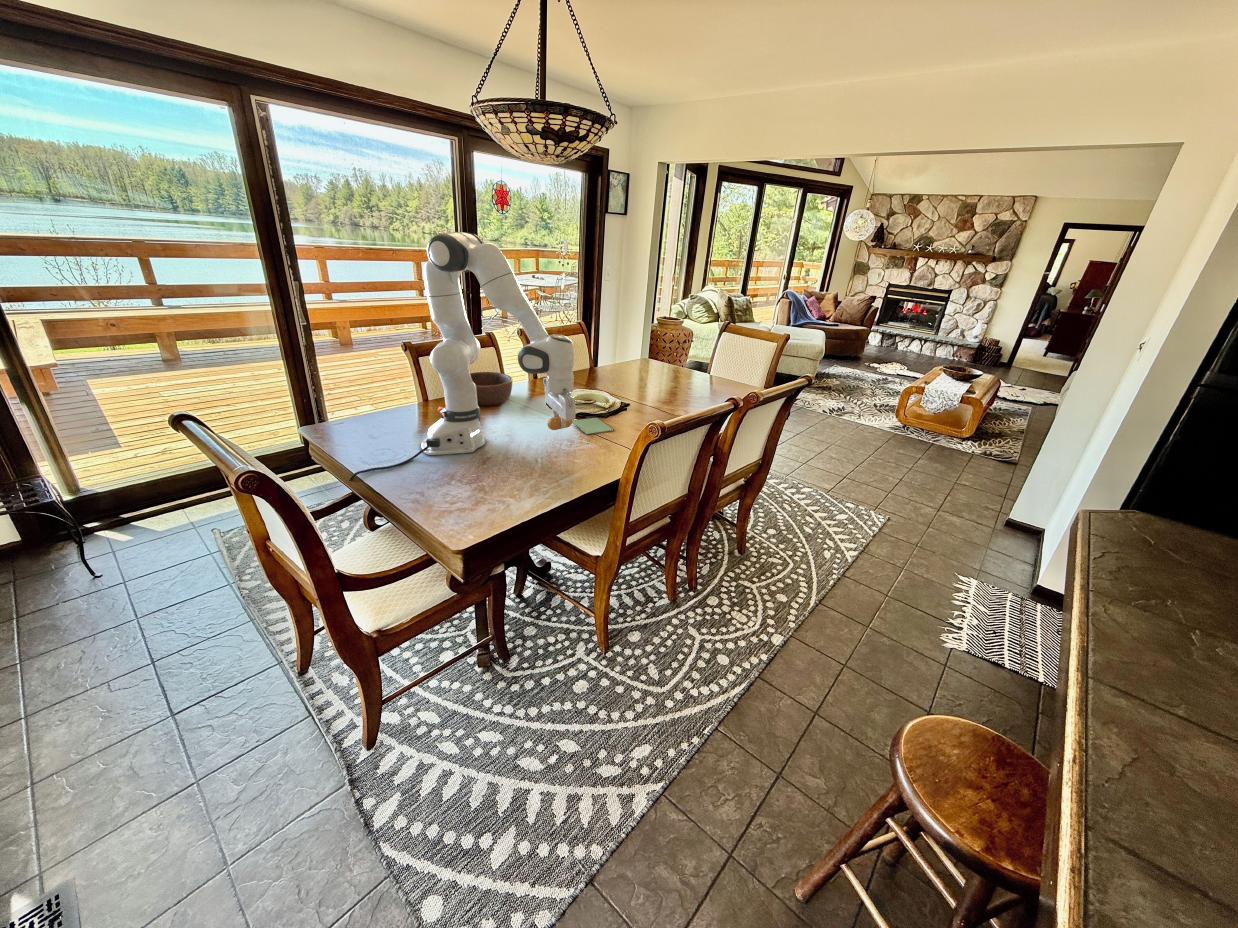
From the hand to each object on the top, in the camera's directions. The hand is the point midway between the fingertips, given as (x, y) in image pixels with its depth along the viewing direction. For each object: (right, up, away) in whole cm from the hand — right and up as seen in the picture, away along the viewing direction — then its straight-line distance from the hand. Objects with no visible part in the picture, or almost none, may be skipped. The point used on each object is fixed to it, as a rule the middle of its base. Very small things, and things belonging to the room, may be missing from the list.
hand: (559, 424), depth 166 cm
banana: (+8, +13, +58) cm, 60 cm away
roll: (0, -1, +1) cm, 2 cm away
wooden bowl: (-42, +16, +60) cm, 75 cm away
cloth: (+9, +2, +36) cm, 37 cm away
